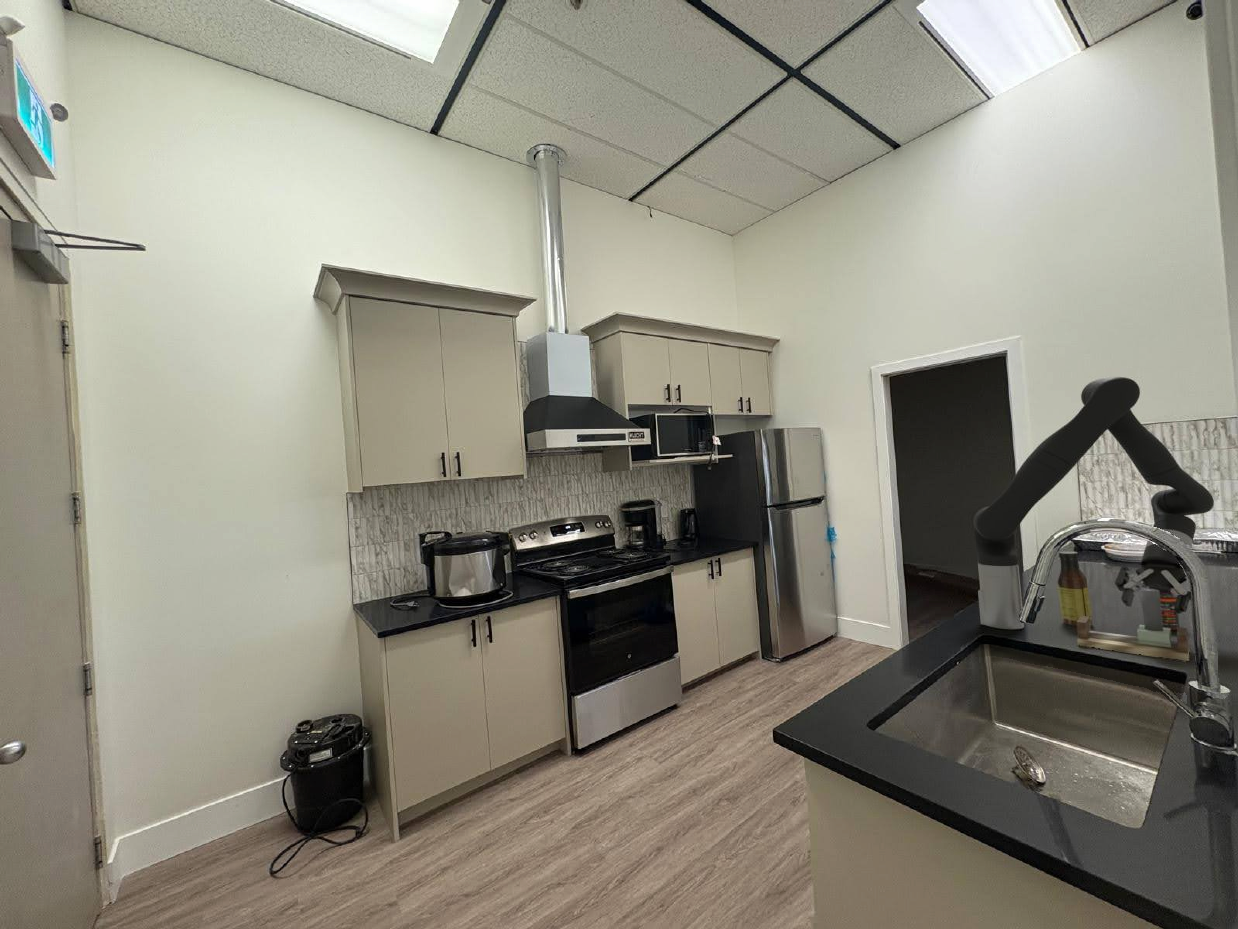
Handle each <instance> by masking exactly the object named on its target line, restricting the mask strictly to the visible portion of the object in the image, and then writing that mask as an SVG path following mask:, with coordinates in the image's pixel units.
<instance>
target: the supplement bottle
mask: <svg viewBox="0 0 1238 929" xmlns="http://www.w3.org/2000/svg"><path fill="white" fill-rule="evenodd" d="M1148 589H1153V588H1150V587H1148ZM1155 590H1159V594H1160V603H1161V613H1162V622H1163V628H1171V631H1177V630H1178V627H1181V626H1180V617H1179V616H1180V615H1179V614H1178V613H1177V612H1176V611H1175V609H1174V606H1175V603H1176V599H1177V595H1176V594H1175V593H1173V592H1172V589H1169V590H1163V589H1160V588H1158V589H1155Z"/></svg>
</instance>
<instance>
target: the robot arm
mask: <svg viewBox="0 0 1238 929" xmlns="http://www.w3.org/2000/svg"><path fill="white" fill-rule="evenodd" d="M1140 394H1141V389H1140V386H1139V385H1138V383H1137V382H1136V381H1135V380H1133V379H1131V378H1129V377H1126V376H1125V377H1122V376H1113V377H1105V378H1099V379H1095V380H1093V381H1090V382H1089V383H1088V384H1086V385H1085V386H1084V388H1083V389H1082V391H1081V395H1080V400H1081V402H1082V404H1083V406H1082V408H1081V409H1080V410H1079V412H1078V413H1077V414H1076V415H1074V417H1072V419H1071V420H1069V421H1068V422H1067V423H1066V424H1064V425H1063V426H1061V428H1059V429H1058V430H1056V431H1055V432H1053V433H1052V434H1051V435H1049V436H1048V437H1047V438H1045V439H1044V440H1043V441H1042V442H1041V443H1040V444H1039V445H1038V446H1037V447H1036V448H1035V449H1034V450H1033V451H1032V452H1031V453H1030V454H1029V455H1028V457H1026V459H1025V460H1024V462H1023V463H1022V465H1021V466H1020V467H1019V469H1018V471H1017V472H1016V473H1015V475H1014V477H1013V479H1012V480H1011V482H1010V484H1009V485H1008V486H1007V488H1006V489H1005V490H1004V491H1003V493H1001V495H999V496H998V498H996V499H995V500H994V501H993V502H992V503H990V505H989V506H986V507H983V508H981V509H980V510H978V511H977V512H976V513H975V515H974V517H973V530H974V532H973V533H974V541H975V543H974V544H975V553H976V557H977V568H978V579H979V588H980V589H979V590H978V591H977V594H978V595H977V596H978V597H977V598H978V609H979V619H980V624H981V625H983V626H987V627H990V628H996V629H1002V630H1020V629H1023V628H1025V623H1021V622H1020V619H1019V615H1020V611H1021V609H1023V600H1022V591H1021V578H1020V569H1019V557H1018V556H1019V555H1018V552H1017V548H1016V540H1015V532H1016V530H1017V529H1018V527H1019V526H1020V525H1021V524H1022V521H1023V520H1024V519H1025V517H1026V516H1027V515H1028V514H1029V513H1030V511H1031V510H1032V509H1033V507H1035V505H1036V504H1037V503H1038V502H1040V500H1042V499H1043V498H1044V497H1045V496H1046V495H1048V493H1050V492H1051V491H1052V489H1053V488H1055V487H1056V485H1058V484H1059V483H1060V482H1061V481H1062V480H1063V479H1064V478H1065V477H1066V476H1067V475H1068V474H1069V472H1071V470H1072V469H1073V468H1074V467H1075V466H1076V465H1077V464H1078V462H1079V461H1080V460H1081V459H1082V458H1083V457H1084V456H1085V455H1086V454H1087V452H1089V450H1090V449H1091V448H1092V447H1093V445H1094V444H1095V443H1096V442H1097V441H1098V440H1099V438H1100V437H1101V436H1102V435H1103V434H1104V433H1105V432H1106V431H1107V430H1108V431H1109V432H1110V434H1111V435H1112V436H1113V437H1114V439H1115V440H1116V441H1117V443H1119V445H1120V446H1121V447H1122V449H1123V450H1124V452H1125V453H1126V454H1127V456H1128V458H1129V459H1130V460H1131V462H1132V463H1133V465H1134V467H1135V468H1136V469H1137V471H1138V472H1139V474H1140V475H1141V476H1142V478H1143V480H1144V481H1145V482H1146V483H1147V484H1149V485H1153V486H1166V487H1170V489H1165V490H1164V489H1163V490H1159V491H1158V492H1156V493H1154V495H1153V496H1152V497H1151V500H1150V504H1151V508H1152V516H1153V522H1154V523H1153V525H1152V528H1153V527H1157V528H1160V529H1162V530H1164V531H1168V532H1170V533H1171V534H1174V535H1175V536H1176V537H1178V538H1180V540H1182V541H1184V542H1185V543H1187V544H1188V545H1189V546H1190V547H1191V548H1192V549H1193V542H1194V537H1195V533H1196V530H1197V529H1196V528H1197V526H1196V523H1195V521H1194V520H1193V519H1192V518H1190V517H1189V516H1193V515H1202V514H1206V513H1208V512H1211V510H1212V509H1213V507H1214V502H1215V501H1214V498H1213V495H1212V494H1211V492H1210V491H1209V490H1208V489H1207V488H1206V487H1205V486H1204V485H1202V484H1201V483H1200V482H1199V481H1197V480H1196V479H1195V478H1193V477H1192V476H1191V475H1189V474H1188V473H1187V472H1186V471H1184V470H1183V469H1182V468H1181V466H1180V465H1179V464H1178V462H1177V461H1176V459H1175V457H1174V456H1173V454H1172V453H1171V452H1170V451H1169V449H1168V448H1167V446H1165V445H1164V444H1163V443H1162V441H1161V440H1159V439H1158V438H1157V437H1156V436H1155V435H1154V434H1153V433H1152V432H1150V431H1149V430H1148V429H1147V428H1146V426H1144V425H1143V424H1142V423H1141V422H1140V421H1139V420H1138V418H1137V417H1136V415H1135V414H1134V413H1133V411H1132V410H1131V409H1132V408H1133V407H1134V406H1135V405H1136V404H1137V403H1138V400H1139V398H1140V396H1141V395H1140ZM1134 576H1135V577H1134ZM1130 579H1131V581H1129V580H1130ZM1186 581H1188V580H1187V576H1186V575H1185V573H1184V570H1183V568H1182V567H1181V566H1180V564H1179V562H1178V561H1177V559H1176V558H1174V556H1173V555H1171V554H1170V552H1168V551H1165V550H1163V549H1162V548H1160V547H1158V546H1157V545H1156V544H1153V543H1152V542H1150V541H1148V540H1147V541H1146V543H1145V547H1144V551H1143V553H1142V557H1141V562H1140V565H1139V567H1138V568H1137V569H1135V568H1129V567H1128V566H1126V565H1122V566H1121V567H1120V569H1119V571H1118V574H1117V577H1116V579H1115V582H1114V585H1115V586H1116V587H1117V589H1118V590H1119V591H1120V592H1122V594H1121V598H1120V599H1121V601H1122V602H1123V604H1124V605H1125V607H1132V604H1133V601H1134V597H1135V594H1136V593H1138V592H1139V591H1141V589H1149V587H1150V588H1153V589H1158V588H1160V589H1163V590H1169V589H1171V590H1172V589H1173V591H1174V592H1175V593H1176V594H1177V595H1176V596H1177V599H1176V603H1175V606H1174V609H1175V611H1176V612H1177V613H1178V614H1180V615H1183V613H1185V612H1187V610H1188V607H1189V602H1190V601H1192V600H1191V592H1190V591H1191V590H1186V589H1185V588H1184V587H1183V586H1182V584H1183V583H1185V582H1186Z"/></svg>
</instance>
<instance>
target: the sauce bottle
mask: <svg viewBox="0 0 1238 929" xmlns="http://www.w3.org/2000/svg"><path fill="white" fill-rule="evenodd" d="M1058 558H1059V560H1060V571H1059V572H1060V573H1059V575H1058V579H1057V587H1058V589H1057V590H1058V595H1059V596H1058V597H1059V601H1060V602H1059V605H1060V611H1061V617H1062V620H1063V623H1064V624H1066V625H1069V626H1073V627H1077V621H1078V619H1079V618H1080V617H1081V616H1086V617H1090V624H1091V626H1092V625H1093V621H1092V620H1093V615H1092V608H1091V607H1092V606H1091V600H1090V593H1089V586H1088V584H1087V583H1088V582H1087V577H1086V576H1085V574H1084V573H1083V571H1081V569H1080V565H1079V553H1078V552H1077V551H1067V550H1065V551H1059V552H1058Z"/></svg>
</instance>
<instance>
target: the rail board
mask: <svg viewBox="0 0 1238 929" xmlns="http://www.w3.org/2000/svg"><path fill="white" fill-rule="evenodd" d="M1076 629H1077V630H1076V632H1077V646H1078V645H1080V646H1079V647H1085V646H1086V647H1085V648H1091V647H1095V648H1094V649H1098V648H1100V650H1105V651H1106V650H1107V651H1112V650H1114V651H1113V652H1119V653H1126V654H1133V655H1134V654H1135V655H1139V654H1141V655H1140V656H1147V657H1155V658H1159V657H1163V658H1162V659H1166V658H1172V659H1180V660H1188V661H1189V662H1190V655H1189V652H1190V653H1191V650H1190V643H1189V635H1188V634H1189V633H1188V628H1187V627H1181V626H1180V627H1178V630H1176V641H1172V640H1171V648H1170V647H1162V646H1155V645H1148V644H1140V643H1139V639H1138V636H1135V635H1134V636H1133V635H1126V634H1117V633H1110V632H1105V631H1104V632H1103V631H1097V630H1092V625H1091V624H1090V617H1086V616H1081V617H1080V618H1079V619H1078V621H1077V626H1076ZM1172 659H1171V660H1172Z"/></svg>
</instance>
